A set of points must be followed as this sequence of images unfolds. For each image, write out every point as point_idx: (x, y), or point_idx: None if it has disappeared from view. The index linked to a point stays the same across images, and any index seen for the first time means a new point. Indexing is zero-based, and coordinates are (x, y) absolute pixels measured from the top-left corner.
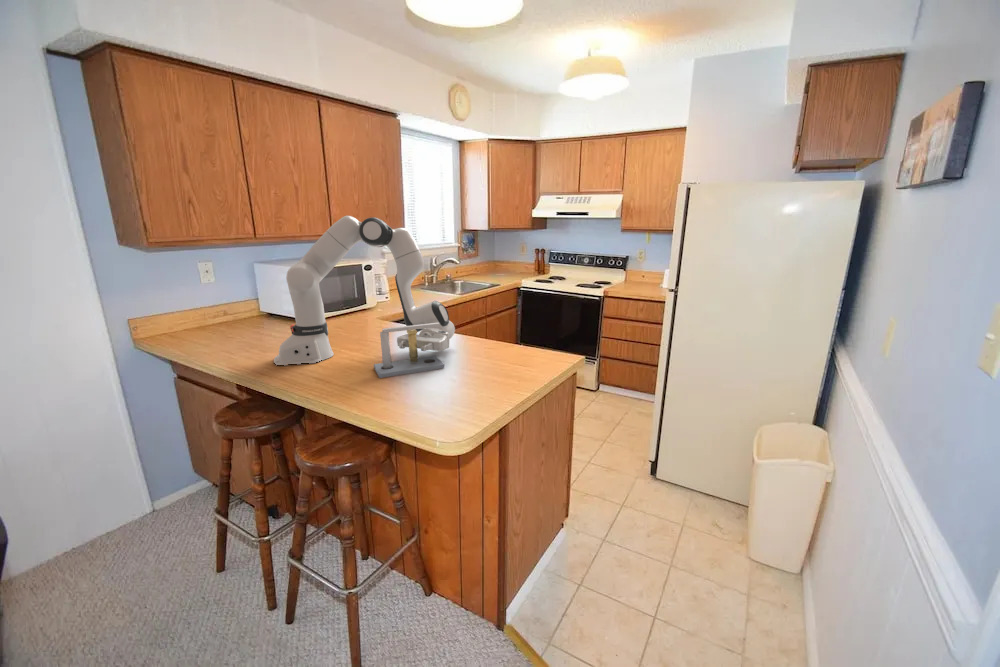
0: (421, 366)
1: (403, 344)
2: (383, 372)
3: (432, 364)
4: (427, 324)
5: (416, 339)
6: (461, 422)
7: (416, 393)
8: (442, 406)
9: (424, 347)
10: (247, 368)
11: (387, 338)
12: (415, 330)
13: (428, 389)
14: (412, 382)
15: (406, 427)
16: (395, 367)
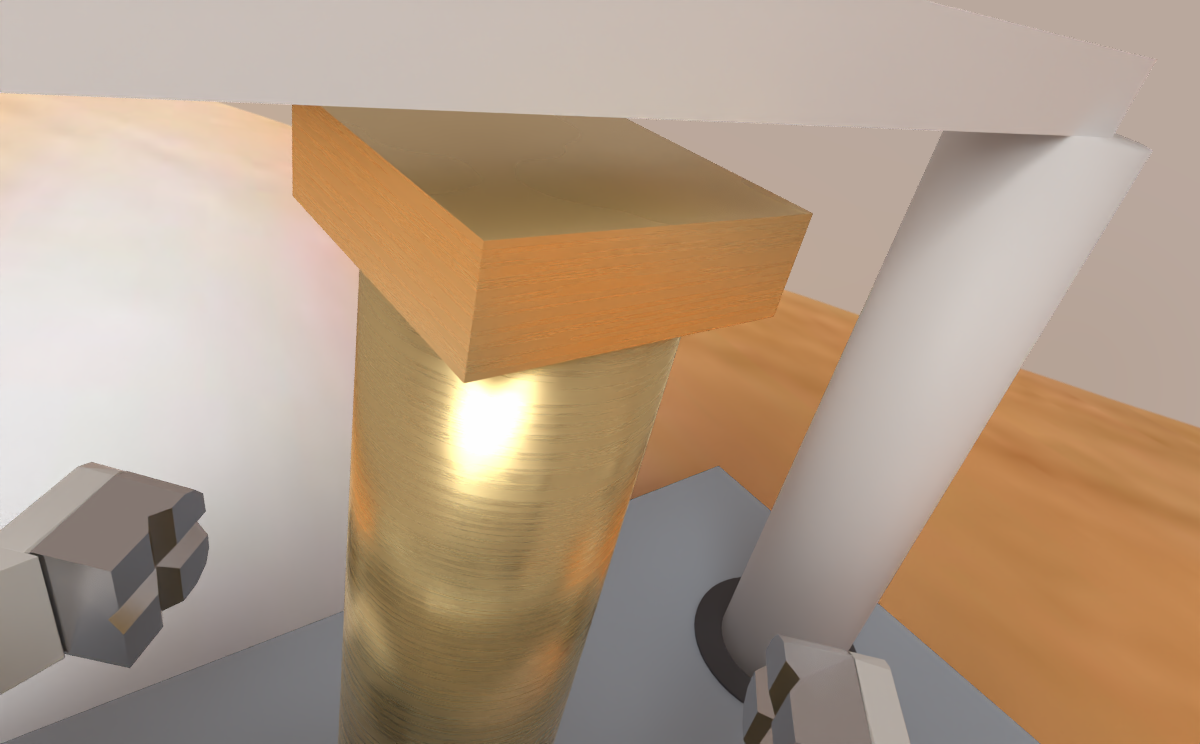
0: (238, 711)
1: (791, 696)
2: (704, 499)
3: None
4: None
5: (351, 485)
6: (16, 101)
7: (269, 286)
8: (86, 177)
9: (90, 474)
10: None
11: (907, 214)
12: (379, 115)
13: (163, 317)
14: (333, 424)
15: (287, 127)
16: (665, 647)
